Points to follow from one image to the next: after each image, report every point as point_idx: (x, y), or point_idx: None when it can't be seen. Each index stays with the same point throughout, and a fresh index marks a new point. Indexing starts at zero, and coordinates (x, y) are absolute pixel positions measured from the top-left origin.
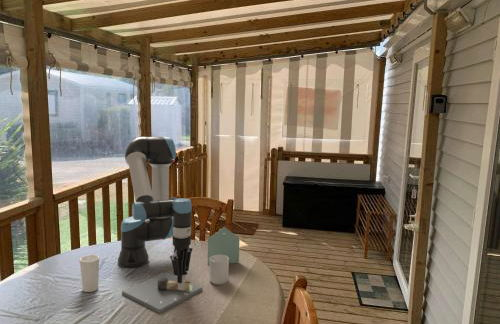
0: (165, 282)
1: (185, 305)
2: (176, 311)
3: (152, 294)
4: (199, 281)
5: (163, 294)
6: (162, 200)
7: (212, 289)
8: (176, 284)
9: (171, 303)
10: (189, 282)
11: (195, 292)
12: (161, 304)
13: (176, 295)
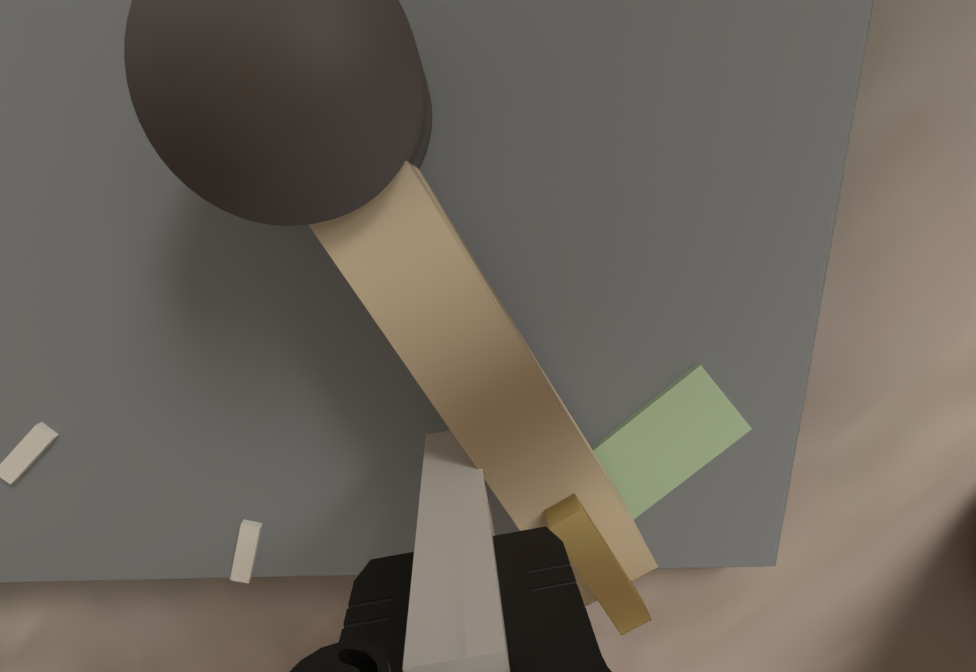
0: (263, 223)
1: (322, 634)
2: (151, 652)
3: (60, 128)
4: (963, 327)
5: (213, 288)
6: None
7: (838, 609)
8: (444, 408)
9: (137, 579)
10: (611, 619)
11: None
12: (2, 499)
13: (343, 470)
